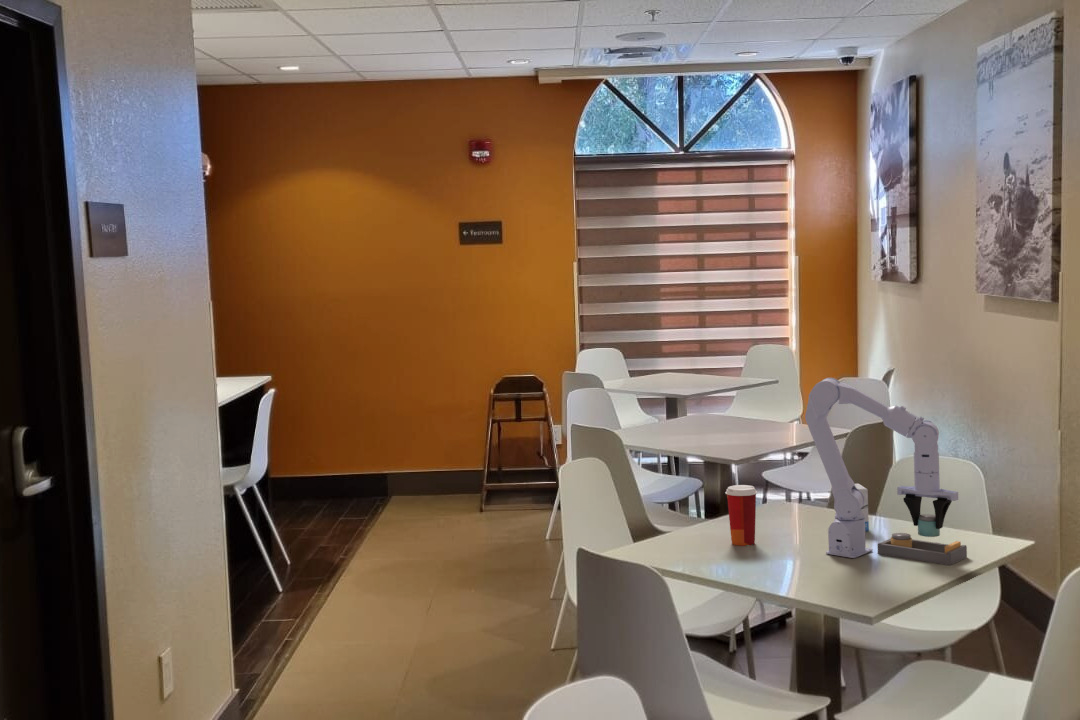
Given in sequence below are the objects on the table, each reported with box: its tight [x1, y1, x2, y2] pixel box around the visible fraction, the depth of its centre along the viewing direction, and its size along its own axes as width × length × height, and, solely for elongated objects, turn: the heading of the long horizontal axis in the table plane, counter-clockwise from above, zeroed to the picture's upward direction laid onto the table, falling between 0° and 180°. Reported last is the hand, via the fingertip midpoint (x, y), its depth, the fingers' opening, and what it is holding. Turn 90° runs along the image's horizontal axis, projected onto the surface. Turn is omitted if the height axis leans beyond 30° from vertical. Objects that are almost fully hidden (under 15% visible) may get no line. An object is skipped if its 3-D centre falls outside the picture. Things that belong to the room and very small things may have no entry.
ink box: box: [854, 483, 870, 532], centre depth 279 cm, size 8×5×12 cm, turn 179°
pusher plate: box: [945, 540, 962, 553], centre depth 242 cm, size 6×1×4 cm, turn 133°
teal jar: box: [917, 513, 941, 538], centre depth 247 cm, size 5×5×4 cm
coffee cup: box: [724, 484, 758, 547], centre depth 268 cm, size 8×8×15 cm
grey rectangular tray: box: [877, 538, 968, 566], centre depth 248 cm, size 9×18×3 cm, turn 43°
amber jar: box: [890, 532, 913, 548], centre depth 252 cm, size 5×5×4 cm
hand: (928, 526), depth 247 cm, fingers closed on teal jar, 5 cm apart
